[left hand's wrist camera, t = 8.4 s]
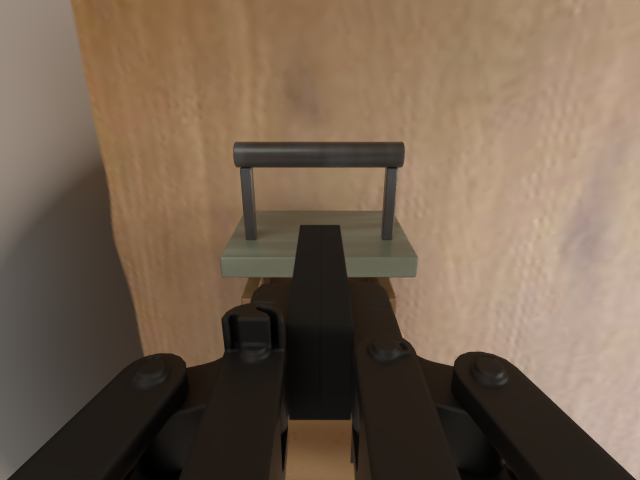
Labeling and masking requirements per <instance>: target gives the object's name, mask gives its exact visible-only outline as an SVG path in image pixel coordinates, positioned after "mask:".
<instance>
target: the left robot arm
mask: <svg viewBox="0 0 640 480" xmlns="http://www.w3.org/2000/svg"><path fill="white" fill-rule="evenodd" d="M221 320H222V329H223V338H224V347H225V352H224V355H223V357H222V358H220V359H218V360H216V361H213V362H210V363H207V364H203V365H198V366H194V367H189V368H186V363H185V362H184V360H183V359H182V358H181V357H179V356H177V355H174V354H167V353H159V354H154V355H149V356H146V357H143V358H141V359H139V360H136V361H134V362H133V363H131V364H130V365H129V366H127V367H126V368H125V369H123V370H122V371H121V372H120V373H119V374H118V375H117V376H116V377H115V378H114V379H113V380H112V381H111V382H110V383H109V384H108V385H107V386H105V387H104V388H103V389H102V390H101V391H100V392H99V393H98V394H97V395H96V396H95V397H94V398H93V399H92V400H91V401H90V402H89V403H88V404H87V405H85V406H84V407H83V408H82V409H81V410H80V411H79V412H78V413H77V414H76V415H75V416H74V417H73V418H72V419H71V420H70V421H69V422H67V423H66V424H65V425H64V426H63V427H62V428H61V429H60V430H59V431H58V432H57V433H56V434H55V435H54V436H53V437H52V438H51V439H50V440H49V441H47V442H46V443H45V444H44V445H43V446H42V447H41V448H40V449H39V450H38V451H37V452H36V453H35V454H34V455H33V456H32V457H31V458H30V459H29V460H27V461H26V462H25V463H24V464H23V465H22V466H21V467H20V468H19V469H18V470H17V471H16V472H15V473H14V474H13V475H12V476H11V477H9V478H8V479H7V480H285V476H286V465H287V453H288V441H289V436H288V418H289V420H351V416H352V436H351V460H350V463H353V464H354V476H355V480H636V479H635V478H634V477H633V476H631V475H630V474H629V473H628V472H627V471H626V470H625V469H624V468H623V467H622V466H621V465H620V464H619V463H618V462H617V461H616V460H614V459H613V458H612V457H611V456H610V455H609V454H608V453H607V452H606V451H605V450H604V449H603V448H602V447H601V446H600V445H599V444H597V443H596V442H595V441H594V440H593V439H592V438H591V437H590V436H589V435H588V434H587V433H586V432H585V431H584V430H583V429H582V428H580V427H579V426H578V425H577V424H576V423H575V422H574V421H573V420H572V419H571V418H570V417H569V416H568V415H567V414H566V413H565V412H563V411H562V410H561V409H560V408H559V407H558V406H557V405H556V404H555V403H554V402H553V401H552V400H551V399H550V398H549V397H548V396H546V395H545V394H544V393H543V392H542V391H541V390H540V389H539V388H538V387H537V386H536V385H535V384H534V383H533V382H532V381H531V380H529V379H528V378H527V377H526V376H525V375H524V374H523V373H522V372H521V371H520V370H519V369H518V368H517V367H515V366H514V365H513V364H511V363H510V362H509V361H507V360H506V359H503V358H501V357H499V356H496V355H494V354H490V353H485V352H467V353H465V354H462V355H460V356H459V357H458V358H457V359H456V360H455V362H454V366H449V365H445V364H440V363H436V362H432V361H429V360H426V359H424V358H421V357H419V356H417V354H416V352H415V350H414V348H413V347H412V345H411V344H410V343H409V342H408V341H406V340H405V339H403V338H402V335H401V332H400V329H399V326H398V323H397V320H396V317H395V314H394V311H393V308H392V305H391V302H390V299H389V296H388V293H387V291H386V290H385V289H384V288H383V287H382V286H381V285H380V284H378V283H377V282H348V277H347V270H346V263H345V256H344V249H343V243H342V236H341V229H340V225H300V229H299V236H298V243H297V249H296V256H295V263H294V270H293V277H292V284H262V285H261V286H260V287H258V288H257V289H256V290H255V291H254V292H253V295H252V298H251V301H250V303H248V304H243V305H240V306H237V307H234V308H233V309H231V310H229V311H228V312H226V313H225V315H224V316H223V317H222V319H221Z"/></svg>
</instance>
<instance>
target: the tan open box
mask: <svg viewBox="0 0 640 480" xmlns="http://www.w3.org/2000/svg"><path fill="white" fill-rule="evenodd" d="M288 436H289V441H288V453H287V465H286V476H285V480H355V476H354V464H353V463H350V460H351V436H352V416H351V420H289V418H288Z"/></svg>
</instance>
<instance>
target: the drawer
mask: <svg viewBox="0 0 640 480" xmlns="http://www.w3.org/2000/svg"><path fill="white" fill-rule="evenodd" d="M233 157H234V163H235V166H236V167H241V168H240V176H241V188H242V200H243V213H244V215H243V216H242V218H241V220H240V222H239V224H238V226H237V227H236V229H235V231H234V233H233V235H232V237H231V239H230V240H229V242H228V244H227V246H226V248H225V250H224V251H223V253H222V255H221V257H220V264H221V273H222V277H249V279H248V282H247V284H246V287H245V290H244V293H243V296H242V299H241V301H242V305H243V304H248V303H250V301H251V298H252V295H253V292H254V291H255V290H256V289H257V288H258V287H260V286H261V285H262V284H292V277H293V270H294V263H295V256H296V249H297V243H298V236H299V229H300V225H340V229H341V236H342V243H343V249H344V256H345V263H346V270H347V277H348V282H377V283H378V284H380V285H381V286H382V287H383V288H384V289H385V290H386V291H387V293H388V296H389V299H390V302H391V305H392V308H393V311H394V314H395V312H396V302H397V299H396V296H395V293H394V290H393V287H392V284H391V282H390V279H389V277H416V274H417V265H418V256H417V255H416V253H415V251H414V249H413V247H412V246H411V244H410V242H409V240H408V238H407V236H406V235H405V233H404V231H403V229H402V227H401V226H400V224H399V222H398V220H397V218H396V217H395V215H394V214H395V202H396V190H397V177H398V168H397V167H402V166H403V164H404V158H405V147H404V143H403V142H235V143H234V148H233ZM253 167H386V168H385V182H384V197H383V211H256V210H255V195H254V180H253Z"/></svg>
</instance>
